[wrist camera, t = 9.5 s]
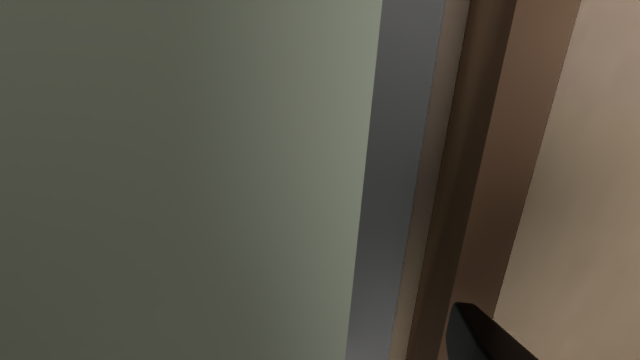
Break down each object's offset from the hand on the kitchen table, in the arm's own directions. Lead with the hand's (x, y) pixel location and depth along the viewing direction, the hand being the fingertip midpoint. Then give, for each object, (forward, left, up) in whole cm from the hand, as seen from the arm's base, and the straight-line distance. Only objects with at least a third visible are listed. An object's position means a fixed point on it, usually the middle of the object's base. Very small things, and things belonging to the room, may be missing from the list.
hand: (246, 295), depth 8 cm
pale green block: (0, 0, -5) cm, 5 cm away
